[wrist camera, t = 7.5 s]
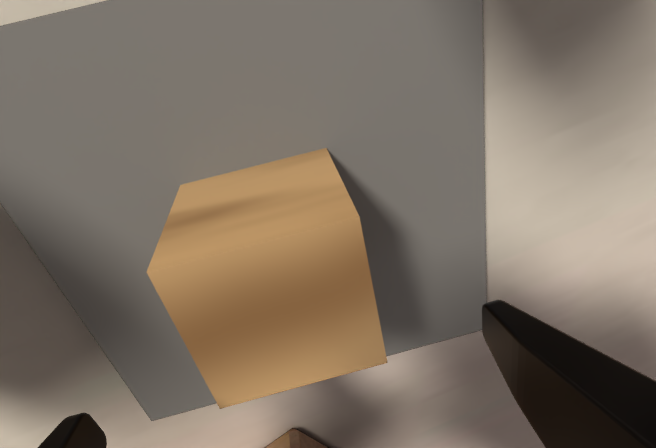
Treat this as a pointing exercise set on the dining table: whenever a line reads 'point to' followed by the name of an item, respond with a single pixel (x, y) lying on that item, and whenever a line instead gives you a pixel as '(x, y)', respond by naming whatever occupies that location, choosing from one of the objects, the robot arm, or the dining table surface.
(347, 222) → the oak cube
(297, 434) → the decorative block
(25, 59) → the charcoal mat
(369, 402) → the dining table surface
